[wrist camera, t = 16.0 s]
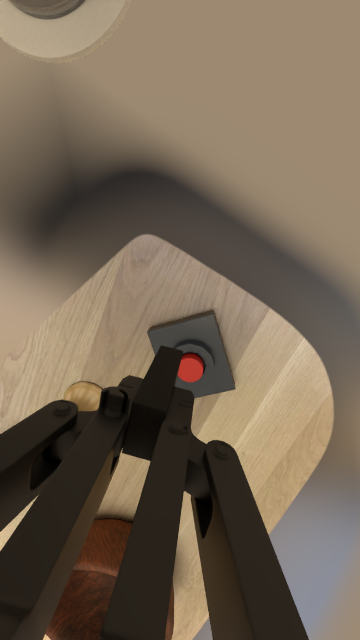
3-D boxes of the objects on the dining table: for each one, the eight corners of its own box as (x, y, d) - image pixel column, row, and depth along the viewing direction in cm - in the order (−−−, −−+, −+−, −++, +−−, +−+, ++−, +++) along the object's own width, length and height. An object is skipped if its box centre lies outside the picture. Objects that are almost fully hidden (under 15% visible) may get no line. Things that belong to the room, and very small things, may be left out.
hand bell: (96, 432, 49) (43, 518, 34) (56, 406, 49) (-16, 482, 34) (119, 399, 47) (73, 476, 32) (77, 372, 47) (10, 436, 31)
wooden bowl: (93, 605, 62) (69, 673, 52) (39, 519, 57) (3, 577, 47) (198, 591, 57) (195, 664, 47) (150, 494, 52) (135, 554, 42)
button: (174, 356, 40) (173, 361, 38) (199, 350, 39) (198, 355, 37) (182, 378, 41) (181, 384, 39) (206, 373, 40) (206, 379, 38)
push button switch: (150, 327, 43) (143, 335, 39) (213, 309, 41) (213, 317, 37) (173, 395, 46) (170, 409, 42) (234, 382, 44) (236, 395, 40)
